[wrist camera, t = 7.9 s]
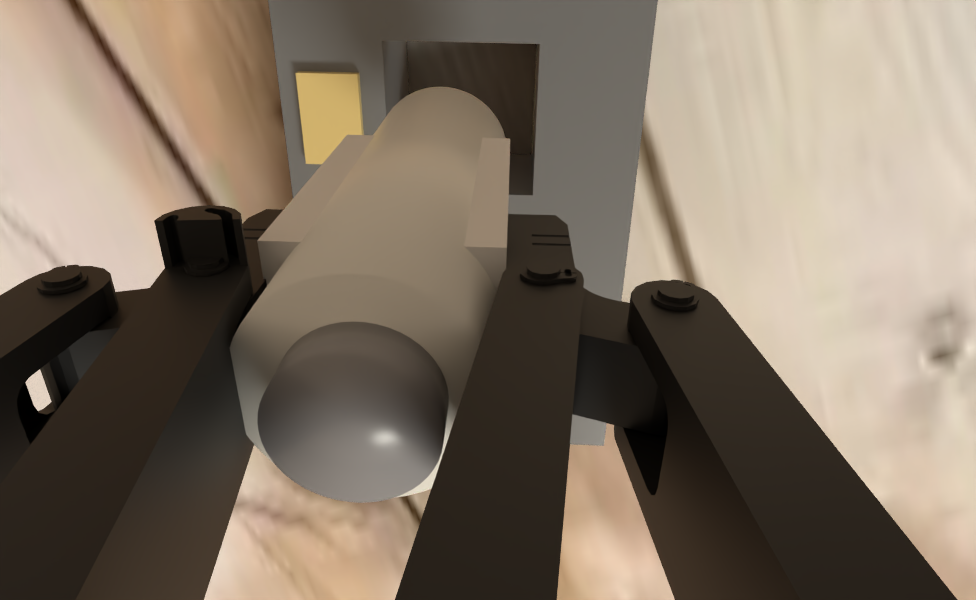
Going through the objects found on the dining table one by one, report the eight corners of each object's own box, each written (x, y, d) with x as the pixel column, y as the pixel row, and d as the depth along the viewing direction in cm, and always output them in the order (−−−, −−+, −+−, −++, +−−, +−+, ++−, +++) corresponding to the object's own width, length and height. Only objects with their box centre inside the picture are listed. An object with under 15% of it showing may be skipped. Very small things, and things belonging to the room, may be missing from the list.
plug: (351, 153, 20) (145, 430, 9) (438, 57, 19) (323, 240, 8) (446, 237, 21) (370, 578, 10) (534, 152, 20) (559, 435, 9)
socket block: (348, 368, 34) (321, 438, 29) (309, -38, 25) (260, -31, 21) (593, 378, 33) (604, 450, 29) (636, -33, 25) (662, -24, 20)
